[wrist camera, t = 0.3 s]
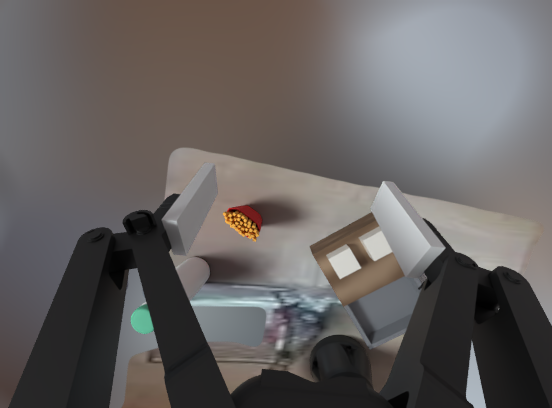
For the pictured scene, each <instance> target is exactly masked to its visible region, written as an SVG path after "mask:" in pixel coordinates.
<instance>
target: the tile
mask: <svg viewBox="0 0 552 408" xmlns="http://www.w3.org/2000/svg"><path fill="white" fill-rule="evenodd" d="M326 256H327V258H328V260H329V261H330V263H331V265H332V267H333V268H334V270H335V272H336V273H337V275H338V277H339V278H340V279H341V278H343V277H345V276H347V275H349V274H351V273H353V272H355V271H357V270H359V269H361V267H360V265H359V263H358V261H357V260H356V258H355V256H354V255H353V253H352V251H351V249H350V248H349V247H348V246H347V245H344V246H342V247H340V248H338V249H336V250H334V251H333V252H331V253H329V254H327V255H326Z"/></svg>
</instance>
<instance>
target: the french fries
mask: <svg viewBox="0 0 552 408" xmlns="http://www.w3.org/2000/svg"><path fill="white" fill-rule="evenodd" d="M223 215H224V216H225V217H224V218H225V219H226V221H225V222H226V223H227V224H230V227H231V228H232V227H233V228H234V229H235V230H236V231H237V232H239V234H240V235H241V234H242V236H243V237H244V236H245V235H246V237H248V238H250V239H251V238H253V241H256V240H257V239H256V237H258V236H259V232H260V229H261V224H262V218H261V215H260V214H259V213H257V212H256V211H255V210H253V209H252V208H251V207H249V206H238V207H232V208H229V209H228V211H227V212H224V213H223Z"/></svg>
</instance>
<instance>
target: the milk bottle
mask: <svg viewBox="0 0 552 408" xmlns="http://www.w3.org/2000/svg"><path fill="white" fill-rule="evenodd" d="M176 271H177V273H178V275H179V278H180V280H181V282H182V285H183V287H184V289H185V292H186V294H187V297H188V299H189V301H190V300H191V299H192V298H193V297H194V296H195V295H196V293H197V292H198V291H199V290H200V289H201V287H202V286H203V285H204V284H205V282H206V281H207V280H208V278H209V275H210V269H209V266H208V264H207V262H206V261H205V260H203V259H201V258H198V257H191V258H189V259H187V260H185V261H184V262H183V263H181V264H180V265H179V266H177V267H176ZM131 324H132V326H133V328H134V329H135V330H136V331H138V332H139V333H143V334H147V333H150V332H152V331H154V328H153V325H152V321H151V317H150V313H149V310H148V306H147V302H146V303H144V304H142V305H141V306H140V307H139V308H137V309H136V310H135V311H134V312H133V314H132V316H131Z"/></svg>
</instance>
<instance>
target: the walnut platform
mask: <svg viewBox="0 0 552 408" xmlns="http://www.w3.org/2000/svg"><path fill="white" fill-rule="evenodd" d="M377 227H379V224H378V223H377V221H376V219H375V217H374V215H373V213H372V212H371V213H369V214H368V215H366V216H364V217H362V218H360V219H359V220H357V221H355V222H353V223H351V224H349V225H348V226H346V227H344V228H342V229H340V230H339V231H337V232H335V233H333V234H331V235H329V236H328V237H326V238H324V239H322V240H320V241H318V242H317V243H315V244H313V245H311V246H310V248H311V251H312V254H313V256H314V258H315V259H316V261H317V263H318V264H319V266H320V268H321V270H322V271H323V273H324V275H325V276H326V278H327V280H328V281H329V283H330V285H331V286H332V288H333V290H334V292H335V293H336V295H337V297H338V298H339V300H340V302H341V303H342V305H343V307H344V306H346V305H348V304H350V303H352V302H354V301H356V300H358V299H360V298H362V297H364V296H366V295H368V294H370V293H372V292H374V291H376V290H378V289H380V288H382V287H384V286H386V285H388V284H390V283H392V282H394V281H396V280H398V279H400V278H402V277H404V276H405V275H404V273H403V271H402V269H401V267H400V265H399V263H398V261H397V259H396V257H395V255H394V253H393V252H391V253H389V254H387V255H386V256H384V257H382V258H380V259H378V260H376V261H374V260H372V259H371V258H370V257H369V255H368V253H367V252H366V250H365V248H364V246H363V245H362V243H361V241H360V239H359V237H360V236H362V235H364V234H366V233H368V232H370V231H372V230H373V229H375V228H377ZM344 245H347V246H348V247H349V248H350V249H351V251H352V253H353V255H354V256H355V258H356V260H357V261H358V263H359V265H360V267H361V269H359V270H357V271H355V272H353V273H351V274H349V275H347V276H345V277H343V278H341V279H340V278H339V277H338V275H337V273H336V272H335V270H334V268H333V267H332V265H331V263H330V261H329V260H328V258H327V256H326V255H327V254H329V253H331V252H333V251H334V250H336V249H338V248H340V247H342V246H344Z"/></svg>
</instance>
